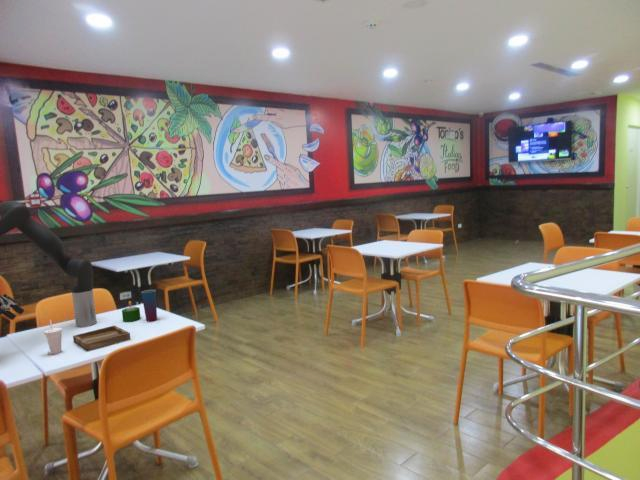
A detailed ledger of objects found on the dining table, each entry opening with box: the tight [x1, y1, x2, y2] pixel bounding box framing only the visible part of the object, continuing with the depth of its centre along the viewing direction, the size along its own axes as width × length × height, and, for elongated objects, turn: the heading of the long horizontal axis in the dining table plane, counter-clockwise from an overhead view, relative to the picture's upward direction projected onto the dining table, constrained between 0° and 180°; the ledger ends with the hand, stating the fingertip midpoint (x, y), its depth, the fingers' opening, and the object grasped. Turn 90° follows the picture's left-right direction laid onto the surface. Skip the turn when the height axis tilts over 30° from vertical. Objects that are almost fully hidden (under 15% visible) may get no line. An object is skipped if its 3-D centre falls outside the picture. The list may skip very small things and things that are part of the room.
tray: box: [72, 325, 132, 352], centre depth 201 cm, size 18×18×3 cm
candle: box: [121, 300, 142, 323], centre depth 231 cm, size 8×8×10 cm
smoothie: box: [44, 319, 63, 355], centre depth 189 cm, size 6×6×14 cm
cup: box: [141, 289, 158, 323], centre depth 228 cm, size 7×7×15 cm
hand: (18, 315), depth 185 cm, fingers open, 8 cm apart
